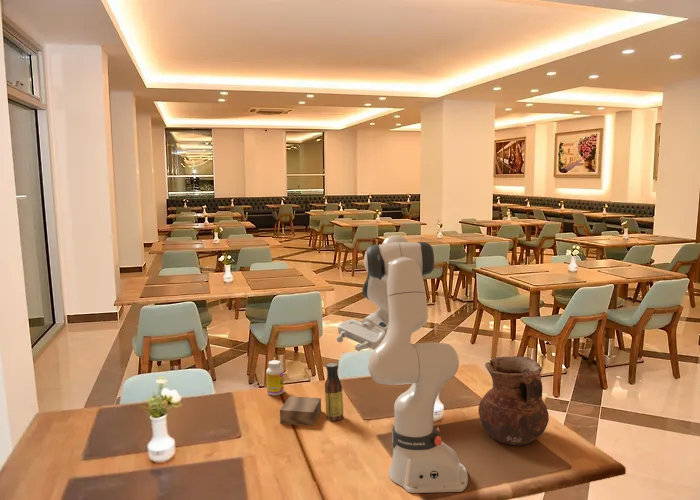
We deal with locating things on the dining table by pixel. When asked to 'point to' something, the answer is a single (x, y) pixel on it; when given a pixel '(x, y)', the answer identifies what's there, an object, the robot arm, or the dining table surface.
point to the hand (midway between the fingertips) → (347, 344)
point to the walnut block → (300, 411)
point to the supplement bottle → (275, 378)
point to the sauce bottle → (333, 394)
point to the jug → (514, 401)
